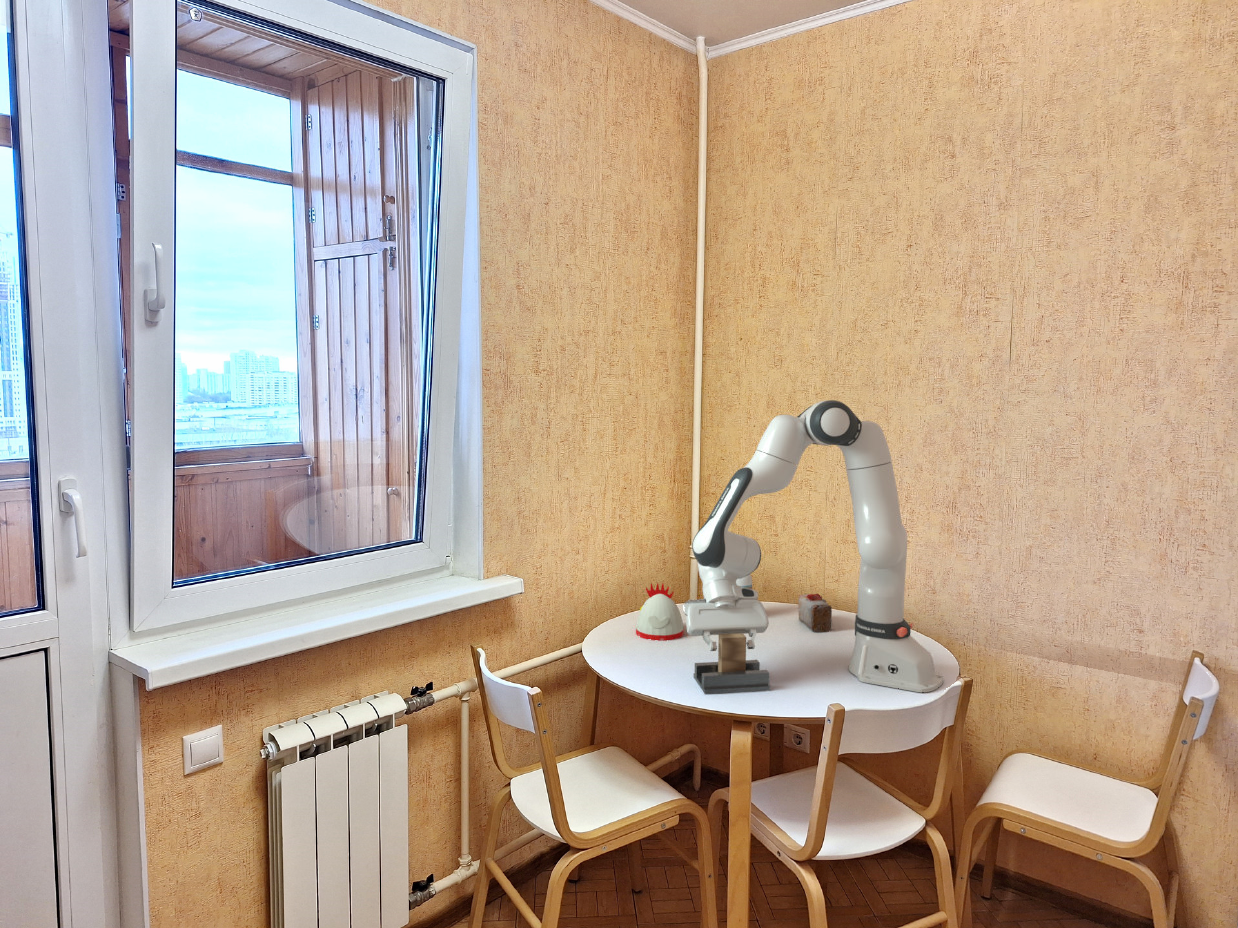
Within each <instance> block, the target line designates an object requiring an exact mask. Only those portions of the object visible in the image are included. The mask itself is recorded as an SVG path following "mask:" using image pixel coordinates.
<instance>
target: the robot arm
mask: <svg viewBox="0 0 1238 928" xmlns="http://www.w3.org/2000/svg"><path fill="white" fill-rule="evenodd" d="M811 445H820V446H825V447H827V446H837V447H838V449H840V451H841V453H842V456H843V458H844V464H845V469H846V476H847V481H848V487H849V491H850V492H849V493H850V497H851V502H852V504H851V505H852V513H853V523H854V529H855V538H856V544H857V551H858V554H859V556H860V563H859V564H860V565H859V577H858V587H857V614H855V621H854V636H855V641H854V647H853V652H852V656H851V659H850V663H849V665H848V670H849V672H850V673H851V674H853V675H854V676H855V677H857V679H858V681H860V682H862V683H867V684H871V685H877V686H878V685H879V686H883V687H889V688H893V689H898V688H899V690H904V691H910V692H917V693H922V692H924V693H930V692H933V691H935V690H938V687H939V688H940V687H941V686H942V685H943V684H944V681H945V679H944V675H943V673H940V672H937V671H935V663H934V659H933V658H934V657H933V656H932V654H931V652H930V651H928V649H926V648H925V647H924V646H923V645H921V643H919V642H918V641H917V640H916V639H915V638H914V637H913V636H912V635H911V632H912V630H911V629H913V627H914V626H913V625H914V623H913V622H912V623H911V622H910V623H908V622H907V621H906V619H905V618H904V613H905V610H904V608H905V589H906V588H905V587H906V569H907V555H908V553H907V552H908V533H907V529H906V527H905V526H904V524H902V516H901V510H900V509H901V508H900V502H899V493H898V489H897V488H898V487H897V483H896V478H895V476H896V475H895V471H894V466H893V462H892V456H891V451H890V448H889V445H888V442H887V438H886V436H885V434H884V431H883V429H882V427H881V426H880V424H878V423H877V422H874V421H870V420H869V421H868V420H861V419H859V417H858V416H857V415H856V414H855V413H854V411H853V410H852V409H851V407H849V406H848V405H847V404H845V403H844V402H842V401H840V400H835V399H834V400H833V399H830V400H828V399H827V400H826V399H825V400H821V401H818V402H815V403H814V404H812V405H810V406H809V407H808V408H806V409H805V410H803V411H802V412H800V414H798V416H794V415H791V414H780V415H776V416H775V417H774V418H772V420H771V421H770V422H769V424H768V425H767V427H766V429H765V430H764V432H763V434H762V436H761V438H760V440H759V442H758V443H757V447H756V450H755V452H754V454H753V456H752V457H751V459H750V461H748V463H746V465H745V466H744V467H742V468H739V469H738V470H736V471H735V473H734V474H733V475H732V477H731V478H730V480H729V481H728V483H727V484H726V486H725V488H724V489H723V492H722V493H721V495H720V496H719V498H718V499H717V502H716V503H715V505H714V507H713V509H712V511H711V512H710V514H709V515H708V518H707V519H706V521H705V522H704V524H703V525H702V526H701V528H700V529H699V530H698V531H697V532H696V534H695V535H694V537H693V540H692V549H691V550H692V553H693V556H694V558H695V559H696V562H697V570H698V574H699V579H700V580H701V582H702V589H701V590H702V594H703V595H702V596H703V598H701V599H688V600H687V601H685V602H684V603H683V605H682V611H683V614H684V615H685V616H686V617H685V620H686V622H685V623H686V632H687V634H688V635H689V636H690V637H699V636H701V637H702V640H703V641H704V642H705V643H706V644H707V645H708V648H709V649H708V650H709V651H710V652H716V651H718V646H717V641H713V640H712V639H711V637H710V636H719V634H736V633H743V634H744V635H745V634H748V637H750V639H748V640H746V650H754V649H755V647H756V645H755V638H756V635H757V634H764V633H765V632H766V630H767V629H768V627H769V625H770V622H769V618H768V614H767V611H766V609H765V606H764V604H763V603H762V602H761V601H760V600H758V598H759V593H758V590H755V589H753V588H752V589H748V588H744V587H741V586H738V585H737V584H736V580H737V579H740V578H743V577H745V576H747V575H749V574H752V573H754V572H755V571H756V570H757V569H758V567H759V566H760V564H761V561H762V549H761V546H760V543H759V542H757V540H756V539H753V538H751V537H748V536H746V535H742V534H738V533H735V532H732V531H729V529H730V526H731V524H732V523H733V521H734V519H736V516H737V514H738V512H739V510H740V509H741V507H742V505H743V504H744V503H745V501H747V500H748V499H750V498H752V497H754V496H758V495H764V494H765V495H766V494H774V493H777V492H779V491H782V490H784V489H785V488H787V487H788V486H789V485H790V484H791V482H792V480H793V479H794V476H795V474H796V471H797V469H798V466H799V465H800V461H801V458H802V456H803V454H804V452H806V449H808V447H809V446H811ZM942 683H943V684H942Z"/></svg>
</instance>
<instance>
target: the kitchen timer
mask: <svg viewBox="0 0 1238 928" xmlns="http://www.w3.org/2000/svg"><path fill="white" fill-rule="evenodd" d="M659 586H660V585H659V582H657V583H656V588H655V589H654V585H653V583H652V582H651V583H650V589H648V587H647V586H646V587H645V591H646V593H647V595H648V597H649V598H648V599H646V600H645V602H644V603H643V605H642V606H641V607H640V608H639V613H638V616H637V621H636V625H635V634H636V636H637V637H639V636H640V637H639V638H641V639H645V640H648V639H651V640H650V641H655V640H658V641H657V642H659V641H660V642H661V641H662V642H667V640H668V641H674V640H678V639H680V638H682V637H683V636H684V628H685V627H684V622H683V618H682V614H681V611H680V609H679V607H678V605H677V604H676V602H675V600H673V599H672V597H673V595H674V592H675V591H674V590H673V591H671V593H670V594H668V593H669V589H670V587H669V586H667V587H666V589H665V586H664V582H662V584H661V588H660V587H659Z"/></svg>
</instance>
